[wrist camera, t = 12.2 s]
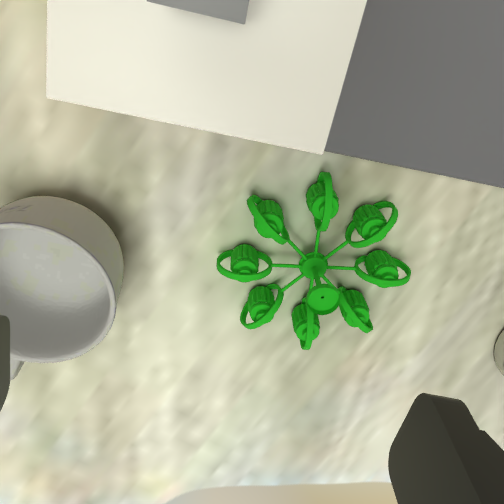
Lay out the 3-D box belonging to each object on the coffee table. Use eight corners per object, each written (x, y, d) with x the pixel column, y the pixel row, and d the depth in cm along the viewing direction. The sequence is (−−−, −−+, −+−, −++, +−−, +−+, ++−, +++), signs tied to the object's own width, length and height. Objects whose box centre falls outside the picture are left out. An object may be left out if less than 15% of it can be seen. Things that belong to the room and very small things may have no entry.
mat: (677, -91, 27) (683, -92, 27) (532, 192, 35) (535, 194, 35) (389, -176, 25) (392, -178, 25) (304, 145, 33) (305, 146, 33)
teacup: (36, 152, 33) (-20, 190, 26) (163, 235, 37) (144, 290, 29) (-42, 283, 38) (-106, 346, 31) (77, 347, 41) (43, 417, 34)
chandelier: (220, 159, 34) (216, 192, 28) (421, 169, 35) (460, 204, 29) (215, 325, 41) (211, 381, 35) (383, 331, 42) (408, 387, 36)
